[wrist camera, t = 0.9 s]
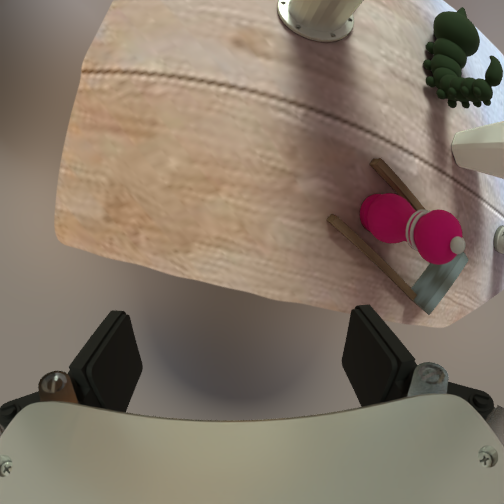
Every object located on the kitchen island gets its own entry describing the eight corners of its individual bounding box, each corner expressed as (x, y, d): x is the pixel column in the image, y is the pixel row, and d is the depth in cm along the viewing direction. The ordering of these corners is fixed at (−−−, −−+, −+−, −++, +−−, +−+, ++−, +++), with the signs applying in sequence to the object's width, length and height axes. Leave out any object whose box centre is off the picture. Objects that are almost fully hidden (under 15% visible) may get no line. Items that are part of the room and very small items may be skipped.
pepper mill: (395, 232, 41) (479, 274, 22) (357, 238, 41) (435, 288, 21) (393, 189, 39) (485, 208, 19) (355, 192, 39) (440, 213, 19)
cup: (478, 132, 36) (540, 132, 19) (478, 180, 38) (541, 192, 22) (443, 118, 35) (511, 110, 19) (444, 172, 38) (515, 181, 22)
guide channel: (373, 158, 37) (393, 157, 31) (449, 250, 42) (468, 259, 36) (326, 219, 40) (340, 228, 34) (412, 300, 45) (429, 315, 39)
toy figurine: (441, 118, 37) (456, 30, 28) (515, 119, 19) (513, 13, 10) (405, 92, 35) (423, 5, 27) (478, 77, 18) (477, -24, 9)
